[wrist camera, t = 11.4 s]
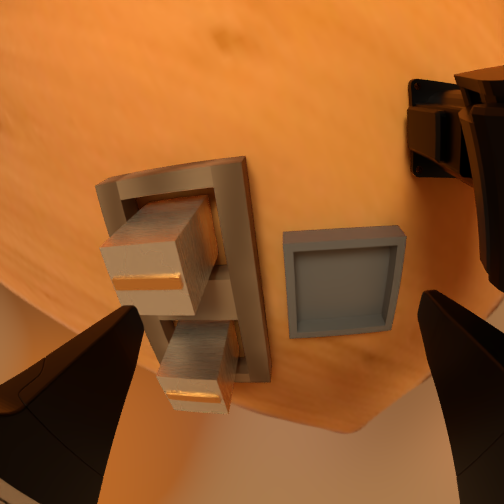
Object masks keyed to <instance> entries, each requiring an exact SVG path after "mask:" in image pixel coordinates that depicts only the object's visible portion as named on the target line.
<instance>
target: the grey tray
mask: <svg viewBox="0 0 504 504" xmlns="http://www.w3.org/2000/svg"><path fill="white" fill-rule="evenodd" d="M406 238H407V236H406V235H405V234H404V232H403V231H402V230H401V229H400V227H399V226H398V225H395V226H375V227H356V228H339V229H322V230H305V231H290V232H283V250H284V263H285V276H286V290H287V305H288V320H289V337H290V339H291V338H310V337H325V336H338V335H350V334H360V333H370V332H379V331H388V330H391V328H392V324H393V319H394V314H395V309H396V304H397V299H398V293H399V287H400V281H401V275H402V269H403V262H404V254H405V246H406Z"/></svg>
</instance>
